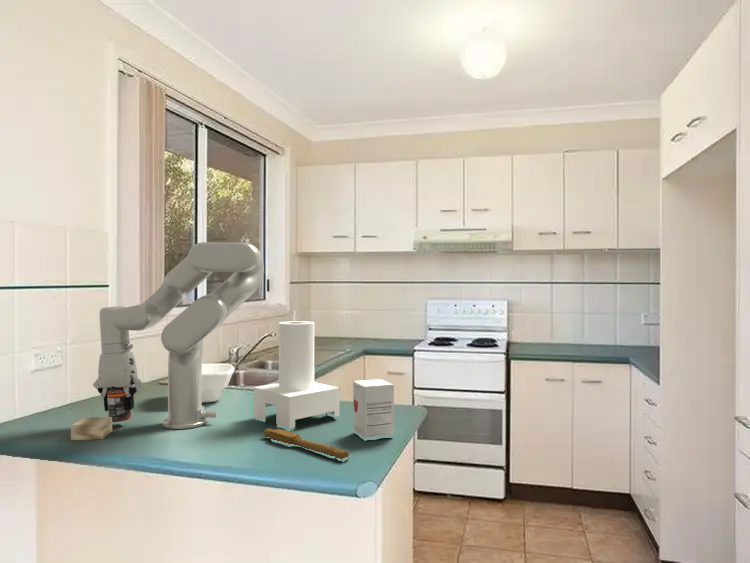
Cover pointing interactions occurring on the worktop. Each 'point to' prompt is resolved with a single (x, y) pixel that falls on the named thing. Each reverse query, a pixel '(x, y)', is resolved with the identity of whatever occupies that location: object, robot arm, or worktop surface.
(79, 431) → the maple block
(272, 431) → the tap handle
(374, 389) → the supplement box
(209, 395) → the bowl
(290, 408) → the paper towel holder
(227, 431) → the worktop surface
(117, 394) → the supplement bottle
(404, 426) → the worktop surface
